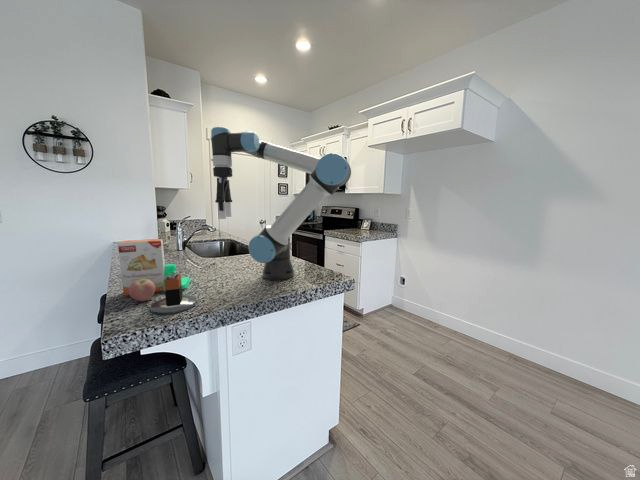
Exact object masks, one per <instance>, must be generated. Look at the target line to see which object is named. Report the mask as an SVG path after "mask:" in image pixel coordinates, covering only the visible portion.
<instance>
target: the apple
mask: <svg viewBox="0 0 640 480" xmlns="http://www.w3.org/2000/svg"><path fill="white" fill-rule="evenodd" d="M155 293H156V292H155V285H154V283H153V282H152V281H151V280H149V279H139V280H136V281H134V282H133V283H132V284H131V285H130V287H129V294H130V295H129V296H130V297H131V299H133V300H134V301H137V302H146V301H149V300H151V298H153V296H154V295H155Z"/></svg>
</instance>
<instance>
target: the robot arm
mask: <svg viewBox="0 0 640 480" xmlns="http://www.w3.org/2000/svg"><path fill="white" fill-rule="evenodd" d="M210 133H211V134H210V135H211V136H210V141H211V142H210V143H211V152H212V153H211V154H212V158H211V159H210V160H211V162H212V166H213V168H212V172H213V177H215V178H216V196H215V197H216V199H214V200H215V203H216V204H217V209H218V210H217V215H218V220H226V219H227V218H229V217H230V218H231V217H232V204H231V203H233V199H232V195H231V188H230V180H229V179H228V178H232V177H233V168H232V167H233V157H232V153H244V154H248V155H250V156H254V157H255V158H258V159H263V160H266V161H269V162H272V163H275V164H279V165H280V166H285V167H288V168H291V169H294V170H297V171H300V172H303V173H306V174H309V182H307V184H306V185H305V186H304V187H303V189H302V190H301V191H300V192H298V194H297V195H296V196H295V198H294V199H293V200H292V201H291V202H290V204H289V205H288V206H287V207H286V209H284V210H283V212H282V213H280V215H279V216H278V217H277V219H276V220H275V221H274V222H273V224H267V225H266V226H265V227H264V228H263V229H262V231H261V232H260V233H259V234H258V235H255V236H254V237H252V238H251V239H250V241H249V243H248V247H247V248H248V252H249V255H250V257H251V258H252V260H254V261H255V262H257V263H259V264H264V266H263V269H262V272H261V273H262V278H263V279H265V280H269V281H282V280H287V279H291V278H294V276H295V269H294V267H293V264H292V261H291V236H292V234H293V233H294V232H295V231H296V230H297V229H298V228H299V227H300V226H301V225H302V223H303V222H304V221H305V220H306V219H307V217H309V215H310V214H312V212H313V211H314V210H315V208H316V207H318V205H319V204H320V203H321V202H322V201H323V200H324V199H325V198H326V197H328V196H330V197H331V196H332V195H333V194H334V193H336V191H337V190H338V189H339V188H340V187H342V186H344V185H346V184H347V183H348V182H349V180H350V179H351V177H352V176H351V175H352V169H351V166H350V164H349V162H348V161H347V158H345V157H344V156H343V155H341V154H338V153H336V152H330V153H326V154H324V155H322V156H321V157H316V156H313V155H310V154H307V153H305V152H304V153H303V152H301V151H298V150H297V151H296V150H294V149H290V148H287V147H285V146H281V145H277V144H274V143H272V142H268V141H265V140H261V139H260V137H259V135H258V134H257V132H255V131H241V132H240V131H239V132H231V129H229V128H228V127H223V126H215V127H212V128H211V131H210Z"/></svg>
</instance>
